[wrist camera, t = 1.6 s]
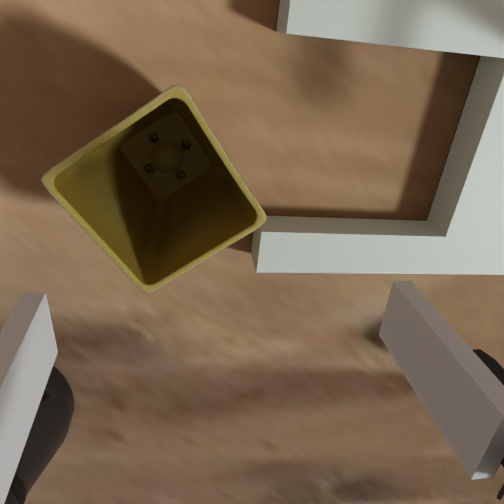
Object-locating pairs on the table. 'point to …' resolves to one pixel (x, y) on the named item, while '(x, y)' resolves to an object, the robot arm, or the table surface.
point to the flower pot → (156, 191)
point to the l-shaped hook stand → (457, 165)
